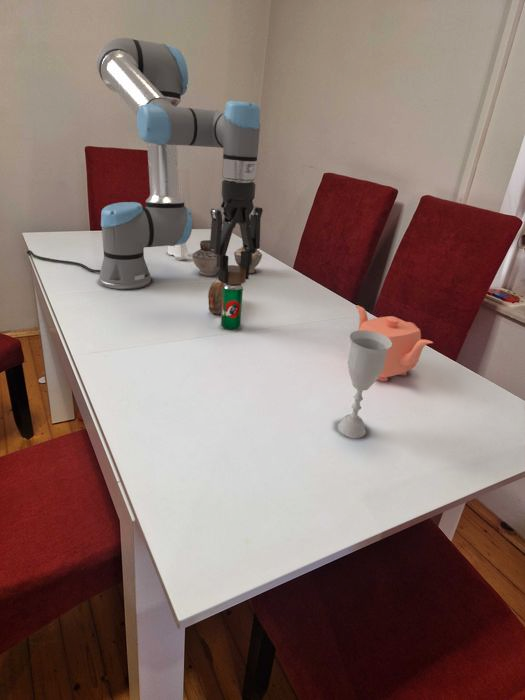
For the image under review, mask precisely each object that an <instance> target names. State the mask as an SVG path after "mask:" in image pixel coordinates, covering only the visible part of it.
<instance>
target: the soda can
mask: <svg viewBox="0 0 525 700" xmlns="http://www.w3.org/2000/svg"><path fill="white" fill-rule="evenodd" d="M243 293H244V287H243V284H228V283H224V285H223V291H222V313H221V314H220V325H221V327H222V328H223V329H224V330H226V331H236V330H238V329H239V328H241V326H242V325H241V324H242V310H243Z"/></svg>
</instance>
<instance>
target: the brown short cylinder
mask: <svg viewBox="0 0 525 700" xmlns="http://www.w3.org/2000/svg"><path fill="white" fill-rule="evenodd" d="M246 281H247V279H246V268H244V267H241V266H238V265H234V264H228V277H227V283H228V284H242V285H243V284H245V283H246Z"/></svg>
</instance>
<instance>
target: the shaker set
mask: <svg viewBox="0 0 525 700" xmlns="http://www.w3.org/2000/svg"><path fill="white" fill-rule="evenodd" d="M167 254H168V255H170V256H174V257H175V258H176V259H177V260H179V261H183V260H185V259H188V258H189V251H188V247H187V242H186V243H184V244H181V245H175V246H167Z"/></svg>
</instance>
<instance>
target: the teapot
mask: <svg viewBox="0 0 525 700" xmlns="http://www.w3.org/2000/svg"><path fill="white" fill-rule="evenodd" d="M355 308H356V309H357V311H358V314H359V324H358V330H357V331H359V330H366V331H373V332H377V333H379V334H382V335H384V336H386V337H387V338H389V339H390V340H391V342H392V346H391V347H390V348H389V349H388V351H387V353H386V358H385V362H384V366H383V370H382V372H381V374H380V375H379V377H378V379H377V381H380V382H387V381H388V377H394V376H398V375H399V376H407V372H410V371H412V370H413V369H414V368H415V367H416V366H417V364H418V362H419V360H420V357H421V354H422V352H423V350H424V348H425V346H426V345H429V344H434V342H433V341H431V340H428V339H424V338H423V339H422V333H421V329H420V328H419V327H418V326H417V325H416V324H415V323H414V322H411V321H405V320H403V319H401V318H398V317H396V316H393V315H389V316H380V317H375V318H371V319H369V318H368V315H367V311H366V309H365V308H364V307H363V306H360V305H355Z"/></svg>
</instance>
